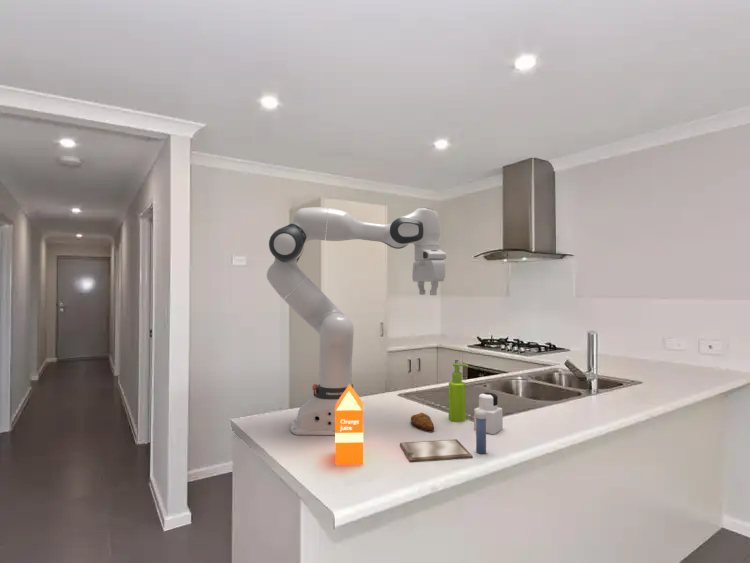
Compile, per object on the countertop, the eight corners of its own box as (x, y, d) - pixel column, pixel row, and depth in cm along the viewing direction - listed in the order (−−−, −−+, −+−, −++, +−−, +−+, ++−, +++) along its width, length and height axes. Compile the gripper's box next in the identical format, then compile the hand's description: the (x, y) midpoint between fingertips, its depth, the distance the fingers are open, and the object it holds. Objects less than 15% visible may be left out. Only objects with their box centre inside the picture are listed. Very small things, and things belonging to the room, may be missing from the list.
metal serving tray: (409, 462, 119) (409, 456, 119) (399, 444, 132) (399, 439, 132) (472, 457, 122) (472, 452, 122) (456, 441, 135) (456, 436, 135)
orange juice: (363, 451, 127) (363, 383, 127) (363, 464, 118) (363, 390, 118) (336, 452, 126) (336, 383, 126) (334, 465, 118) (334, 390, 118)
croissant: (403, 422, 154) (403, 408, 154) (420, 420, 157) (420, 406, 157) (423, 434, 141) (423, 419, 142) (441, 432, 144) (441, 416, 144)
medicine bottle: (483, 424, 150) (482, 390, 150) (502, 429, 146) (502, 393, 146) (473, 430, 145) (473, 394, 145) (493, 435, 140) (493, 397, 140)
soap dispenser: (468, 422, 153) (468, 365, 153) (448, 421, 154) (448, 364, 154) (468, 417, 158) (468, 362, 159) (449, 416, 160) (449, 362, 160)
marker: (478, 454, 124) (478, 412, 124) (474, 450, 127) (474, 409, 127) (488, 453, 125) (487, 411, 125) (483, 450, 128) (483, 409, 128)
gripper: (408, 256, 160) (408, 294, 160) (430, 253, 141) (431, 295, 141) (423, 257, 162) (424, 294, 162) (448, 253, 143) (448, 295, 143)
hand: (427, 295), depth 151 cm, fingers open, 8 cm apart
